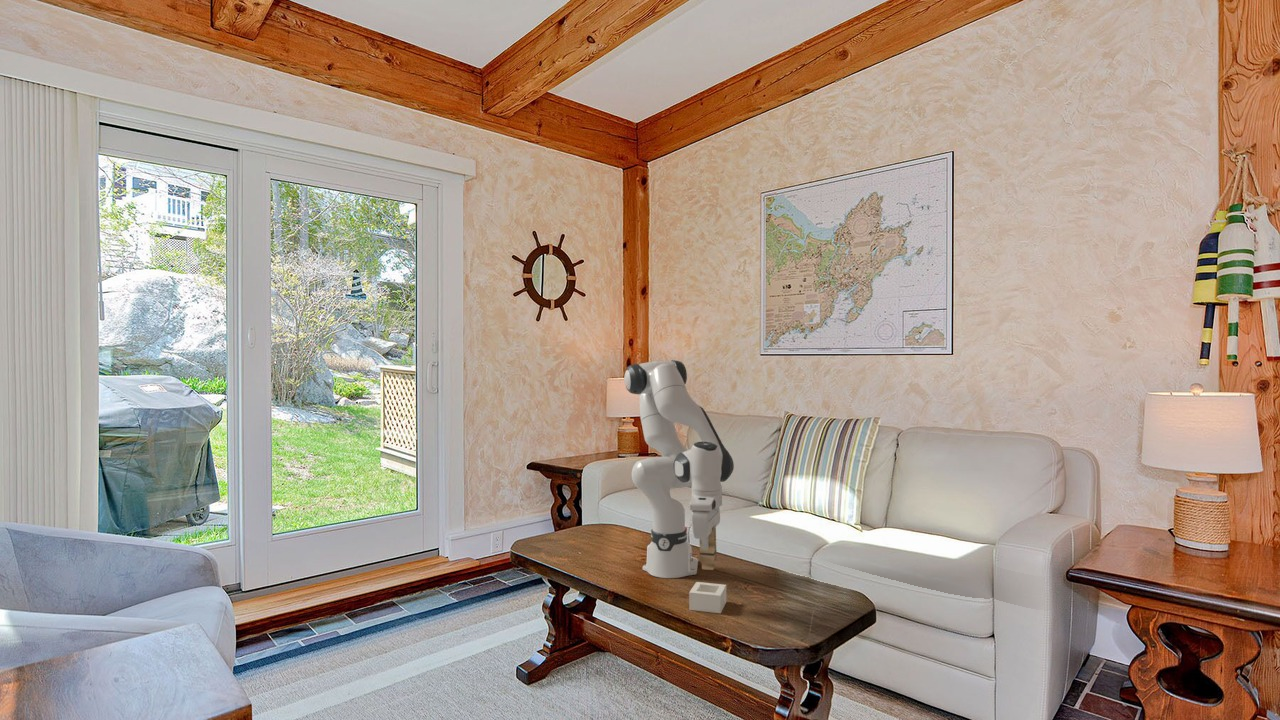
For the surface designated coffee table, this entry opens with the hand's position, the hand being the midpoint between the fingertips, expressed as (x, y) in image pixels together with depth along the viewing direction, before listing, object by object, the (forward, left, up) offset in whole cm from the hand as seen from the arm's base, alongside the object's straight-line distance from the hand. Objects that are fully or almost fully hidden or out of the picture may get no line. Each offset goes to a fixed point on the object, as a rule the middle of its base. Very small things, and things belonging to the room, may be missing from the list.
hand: (707, 546), depth 184 cm
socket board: (0, 0, -17) cm, 17 cm away
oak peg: (0, 0, -6) cm, 6 cm away
